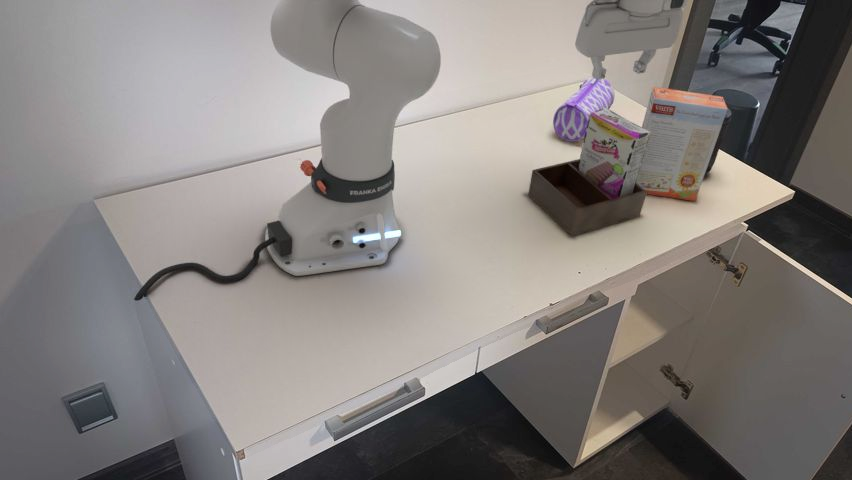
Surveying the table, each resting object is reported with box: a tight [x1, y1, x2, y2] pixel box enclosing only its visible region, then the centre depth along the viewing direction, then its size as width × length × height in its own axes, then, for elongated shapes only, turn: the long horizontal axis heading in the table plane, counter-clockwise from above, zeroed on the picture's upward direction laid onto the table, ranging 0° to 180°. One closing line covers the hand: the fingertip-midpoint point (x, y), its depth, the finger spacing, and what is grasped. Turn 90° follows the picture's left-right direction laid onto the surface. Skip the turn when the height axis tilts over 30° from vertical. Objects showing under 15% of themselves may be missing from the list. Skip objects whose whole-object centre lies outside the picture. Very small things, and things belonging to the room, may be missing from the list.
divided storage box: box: [527, 158, 648, 237], centre depth 133 cm, size 17×15×6 cm
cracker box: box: [636, 86, 728, 202], centre depth 136 cm, size 14×6×21 cm, turn 85°
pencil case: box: [552, 76, 615, 143], centre depth 158 cm, size 22×9×10 cm, turn 158°
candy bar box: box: [578, 108, 650, 199], centre depth 131 cm, size 11×5×16 cm, turn 45°
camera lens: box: [703, 107, 732, 179], centre depth 146 cm, size 8×8×15 cm
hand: (618, 75), depth 120 cm, fingers open, 8 cm apart
